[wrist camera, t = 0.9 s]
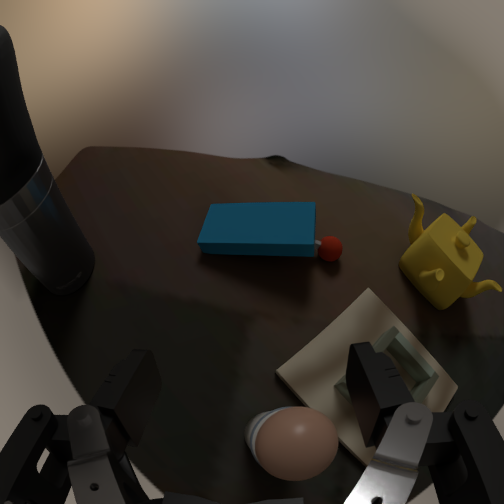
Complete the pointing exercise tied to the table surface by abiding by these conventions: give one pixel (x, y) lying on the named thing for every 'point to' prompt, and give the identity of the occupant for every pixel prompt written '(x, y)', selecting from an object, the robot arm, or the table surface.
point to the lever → (265, 230)
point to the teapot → (443, 260)
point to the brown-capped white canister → (292, 442)
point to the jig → (335, 363)
